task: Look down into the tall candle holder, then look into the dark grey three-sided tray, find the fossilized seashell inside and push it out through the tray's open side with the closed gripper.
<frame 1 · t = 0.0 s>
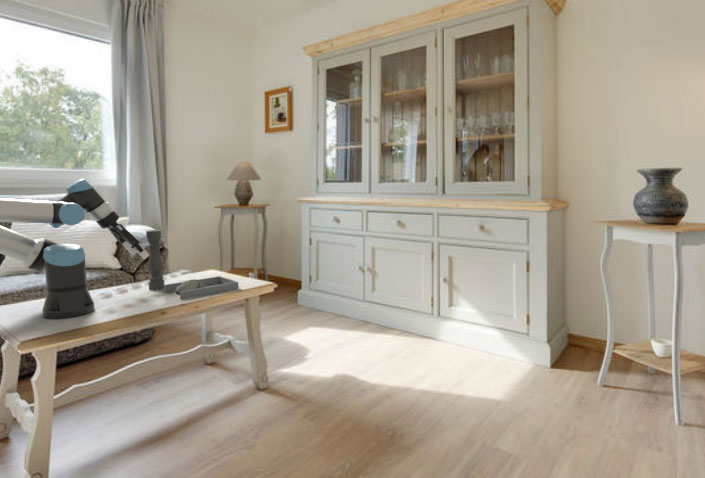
hand: (140, 255, 178), 15 cm above the table, tool tilted 35°, fingers open, 13 cm apart
tray: (202, 290, 182), on the table
candle holder: (156, 288, 185), on the table
fossilized seashell: (191, 293, 179), on the table
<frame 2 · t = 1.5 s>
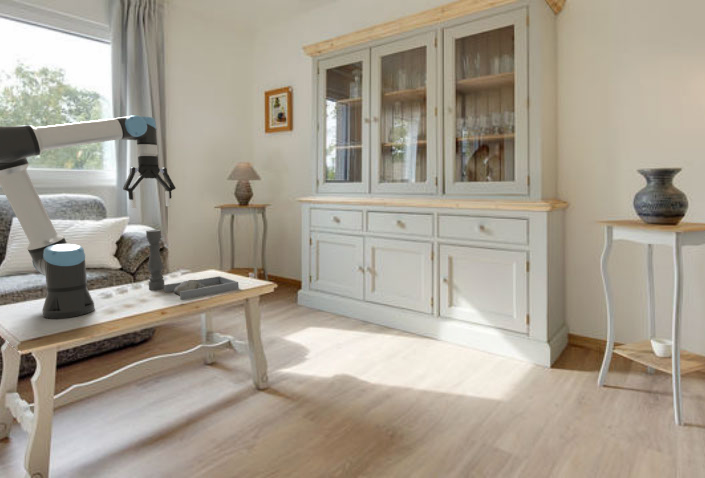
hand: (151, 207, 181), 35 cm above the table, tool pointing down, fingers open, 13 cm apart
nothing on the table moved.
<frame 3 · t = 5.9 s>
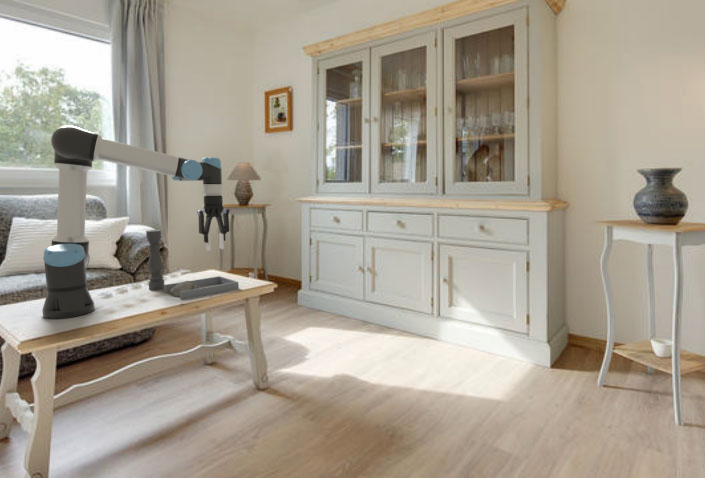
hand: (215, 249, 184), 17 cm above the table, tool pointing down, fingers open, 5 cm apart
fossilized seashell: (186, 294, 176), on the table
everything else where it was.
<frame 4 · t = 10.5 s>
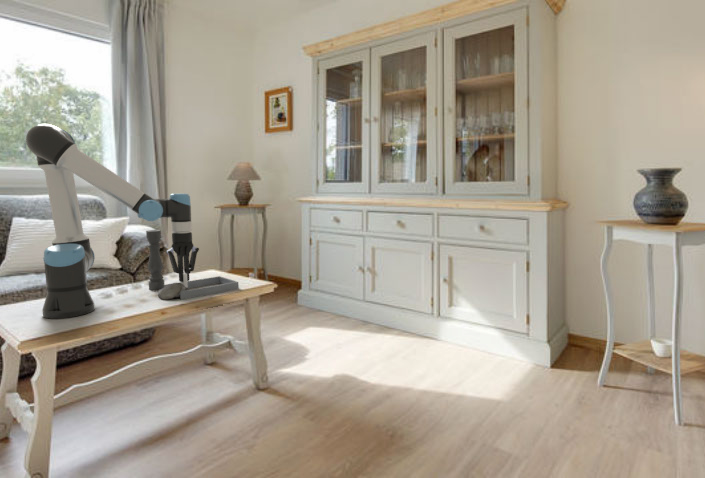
hand: (184, 289, 177), 2 cm above the table, tool pointing down, fingers closed
fossilized seashell: (174, 297, 171), on the table, touching gripper
everything else where it was.
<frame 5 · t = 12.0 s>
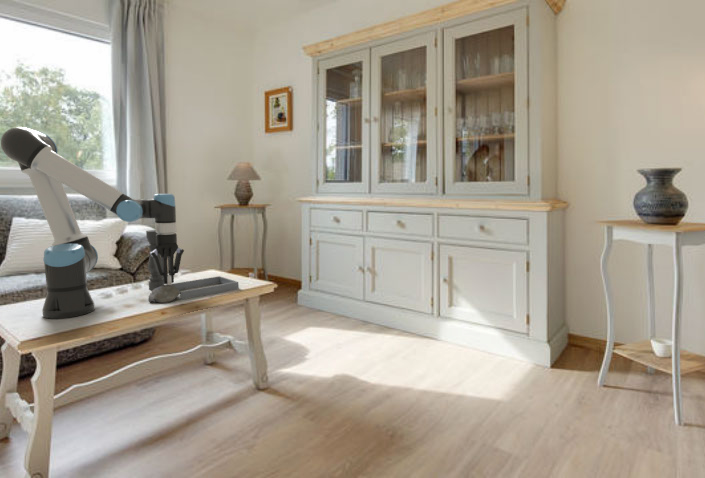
hand: (168, 291, 173), 2 cm above the table, tool pointing down, fingers closed
fossilized seashell: (166, 300, 167), on the table, touching gripper, tray
everything else where it was.
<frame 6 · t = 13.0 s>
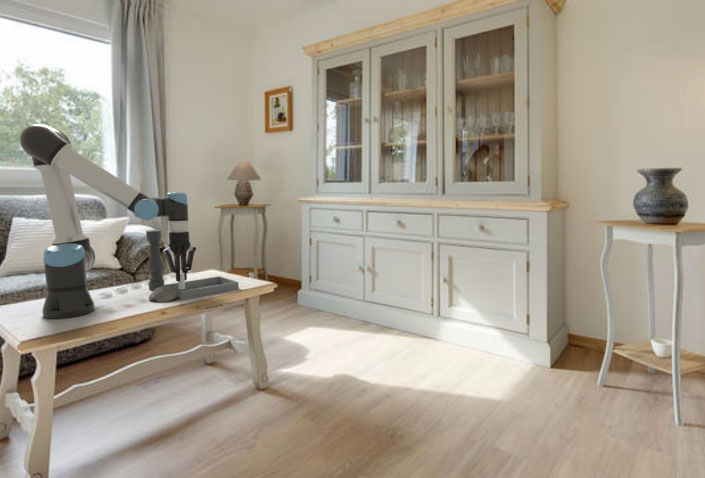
hand: (181, 288, 175), 2 cm above the table, tool pointing down, fingers closed
fossilized seashell: (167, 299, 168), on the table
everything else where it was.
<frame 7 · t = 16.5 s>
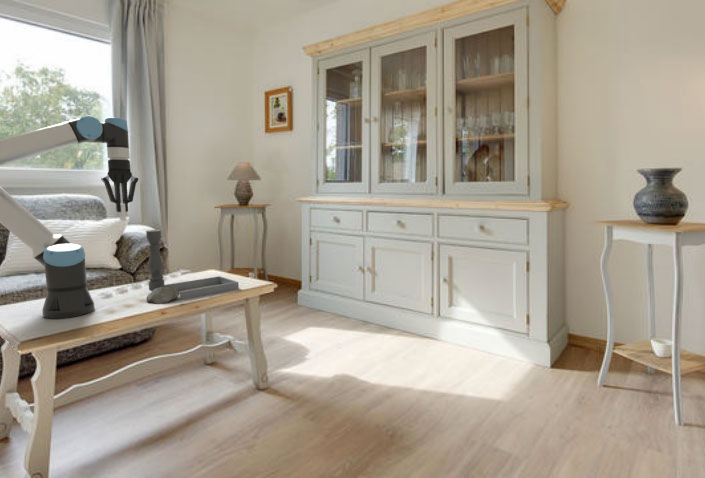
hand: (122, 220, 169), 30 cm above the table, tool pointing down, fingers closed
fossilized seashell: (164, 301, 167), on the table
everything else where it was.
at the end: fossilized seashell inside the target area (7.0 cm from its centre), on the table; fossilized seashell moved 13.5 cm from its start; candle holder moved 0.2 cm from its start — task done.
